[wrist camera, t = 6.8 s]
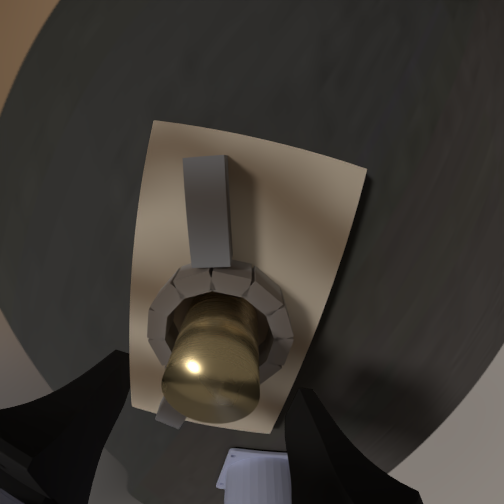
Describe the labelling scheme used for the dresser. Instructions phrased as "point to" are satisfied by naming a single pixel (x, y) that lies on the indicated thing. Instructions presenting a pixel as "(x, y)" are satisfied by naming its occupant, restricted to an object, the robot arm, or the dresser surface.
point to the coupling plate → (235, 251)
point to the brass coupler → (215, 361)
